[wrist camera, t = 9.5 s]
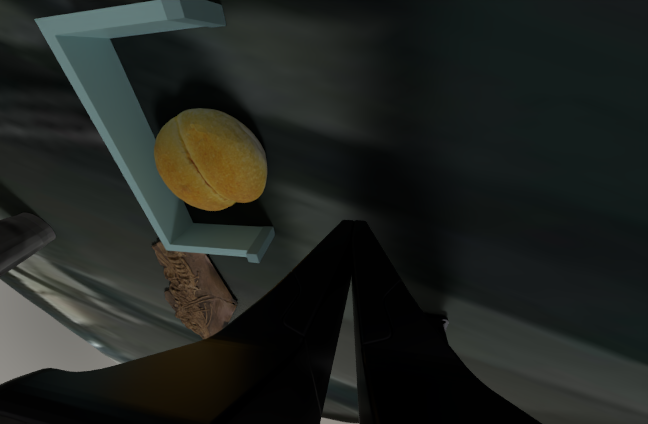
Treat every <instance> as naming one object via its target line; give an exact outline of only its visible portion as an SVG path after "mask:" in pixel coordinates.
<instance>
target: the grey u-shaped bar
mask: <svg viewBox="0 0 648 424" xmlns="http://www.w3.org/2000/svg"><path fill="white" fill-rule="evenodd" d="M34 20H35V21H36V23H37V25H38V27H39V28H40V30H41V32H42V34H43V35H44V37H45V39H46V41H47V42H48V44H49V46H50V48H51V49H52V51H53V53H54V55H55V56H56V58H57V60H58V62H59V63H60V65H61V67H62V69H63V70H64V72H65V74H66V76H67V77H68V79H69V81H70V83H71V84H72V86H73V88H74V90H75V91H76V93H77V95H78V97H79V98H80V100H81V102H82V104H83V105H84V107H85V109H86V111H87V112H88V114H89V116H90V118H91V119H92V121H93V123H94V125H95V126H96V128H97V130H98V132H99V133H100V135H101V137H102V139H103V140H104V142H105V144H106V146H107V147H108V149H109V151H110V153H111V154H112V156H113V158H114V160H115V161H116V163H117V165H118V167H119V168H120V170H121V172H122V174H123V175H124V177H125V179H126V181H127V182H128V184H129V186H130V188H131V189H132V191H133V193H134V195H135V196H136V198H137V200H138V202H139V203H140V205H141V207H142V209H143V210H144V212H145V214H146V216H147V217H148V219H149V221H150V223H151V224H152V226H153V228H154V230H155V231H156V233H157V235H158V237H159V238H160V240H161V242H162V244H163V245H164V247H165V249H166V250H168V251H180V252H192V253H205V254H217V255H229V256H242V257H247V259H248V261H249V262H254V263H259V262H260V261H261V259H262V257H263V255H264V253H265V252H266V250H267V248H268V246H269V245H270V243H271V241H272V239H273V237H274V236H275V232H274V228H273V227H270V226H264V227H256V226H237V225H219V224H200V223H193V221H192V219H191V217H190V215H189V212H188V210H187V208H186V206H185V204H184V201H183V200H182V199H180V198H178V197H177V196H176V195H175V194H174V193H173V192H172V191H171V190H170V189H169V188H168V187H167V185H166V184H165V183H164V181H163V179H162V178H161V176H160V174H159V172H158V170H157V167H156V163H155V158H154V145H155V141H156V140H155V137H154V135H153V133H152V131H151V129H150V126H149V124H148V122H147V120H146V118H145V115H144V113H143V111H142V109H141V107H140V104H139V102H138V100H137V98H136V96H135V93H134V91H133V89H132V87H131V85H130V82H129V80H128V78H127V76H126V73H125V71H124V69H123V67H122V65H121V62H120V60H119V58H118V56H117V54H116V51H115V49H114V47H113V45H112V43H111V40H110V38H117V37H125V36H133V35H141V34H149V33H157V32H165V31H173V30H181V29H189V28H197V27H205V26H206V27H212V28H213V27H221V26H226V21H225V17H224V13H223V8H222V5H220V4H216V3H213V2H210V1H207V0H154V1H148V2H141V3H135V4H129V5H122V6H116V7H109V8H103V9H97V10H90V11H84V12H77V13H71V14H64V15H58V16H52V17H45V18H39V19H34Z"/></svg>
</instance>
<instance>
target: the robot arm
mask: <svg viewBox="0 0 648 424" xmlns="http://www.w3.org/2000/svg"><path fill="white" fill-rule="evenodd" d="M351 275H352V298H353V316H354V335H355V353H356V372H357V390H358V409H359V424H542V423H540V422H539V421H537V420H536V419H534V418H533V417H531V416H530V415H528V414H527V413H525V412H524V411H522V410H521V409H519V408H518V407H516V406H515V405H513V404H512V403H510V402H509V401H507V400H506V399H504V398H503V397H501V396H500V395H499V394H497V393H496V392H494V391H493V390H491V389H490V388H488V387H487V386H486V385H485V384H484V383H482V382H481V381H480V380H479V379H478V378H477V377H476V376H475V375H474V374H473V373H472V372H471V371H470V370H469V369H468V368H467V367H466V366H465V364H464V363H463V362H462V361H461V360H460V358H459V357H458V356H457V355H456V353H455V352H454V351H453V349H452V348H451V347H450V346H449V344H448V341H447V336H446V332H445V331H446V329H447V326H448V323H449V322H448V318H447V317H445V316H438V315H429V314H424V313H423V311H422V310H421V309H420V307H419V306H418V305H417V303H416V302H415V300H414V299H413V297H412V296H411V294H410V293H409V291H408V290H407V288H406V286H405V285H404V283H403V282H402V280H401V278H400V277H399V275H398V273H397V272H396V270H395V268H394V267H393V265H392V263H391V262H390V260H389V259H388V257H387V255H386V254H385V252H384V250H383V249H382V247H381V245H380V244H379V242H378V240H377V239H376V237H375V236H374V234H373V232H372V231H371V229H370V227H369V226H368V224H367V222H366V221H359V220H356V221H353V220H343V221H341V222H340V223H339V224H338V225H337V226H336V227H335V228H334V229H333V230H332V231H331V232H330V233H329V234H328V235H327V236H326V237H325V238H324V239H323V240H322V241H321V242H320V243H319V244H318V245H317V246H316V247H315V248H314V249H313V250H312V251H311V252H310V253H309V254H308V255H307V256H306V257H305V258H304V259H303V260H302V261H301V262H300V263H299V264H298V265H297V266H296V267H295V268H294V269H293V270H292V272H290V273H289V274H288V275H287V276H286V277H285V278H284V279H282V280H281V281H280V282H279V283H278V284H277V285H276V286H275V287H274V288H273V289H272V290H270V291H269V292H268V293H267V294H266V295H264V296H263V297H262V298H261V299H260V300H258V301H257V302H256V303H255V304H253V305H252V306H251V307H250V308H248V309H247V310H246V311H245V312H243V313H242V314H241V315H239V316H238V317H237V318H236V319H234V320H233V321H232V322H231V323H229V324H228V325H227V326H226V327H224V328H223V329H222V330H220V331H219V332H217V333H215V334H214V335H212V336H210V337H208V338H206V339H204V340H201V341H199V342H196V343H192V344H189V345H185V346H182V347H178V348H175V349H171V350H168V351H164V352H161V353H157V354H154V355H150V356H147V357H143V358H140V359H136V360H133V361H129V362H126V363H122V364H119V365H115V366H111V367H107V368H103V369H98V370H92V371H84V372H69V371H64V370H59V369H53V368H46V369H41V370H38V371H35V372H32V373H29V374H26V375H23V376H20V377H17V378H15V379H12V380H10V381H7V382H5V383H3V384H1V385H0V424H320V421H321V415H322V411H323V407H324V402H325V397H326V393H327V388H328V383H329V379H330V374H331V370H332V365H333V360H334V356H335V351H336V347H337V342H338V337H339V333H340V328H341V324H342V319H343V314H344V310H345V305H346V300H347V296H348V291H349V287H350V282H351Z"/></svg>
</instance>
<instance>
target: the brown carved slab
mask: <svg viewBox="0 0 648 424" xmlns="http://www.w3.org/2000/svg"><path fill="white" fill-rule="evenodd" d="M152 248H153V249H154V250H155V253H156V255H157V258H158V261H159V263H160V264H161V265H162V266H164V274H165V278H166V279H168V280H170V281H171V284H170V288H169V290H167V291H165V297H166V300H167V301H168V302H169V304H170V305H171V306H172V308H173V309H174V310H175V311H176V315H175V316H176V317H177V318H180V319H181V321H182V323H183V324H185V326H186V327H187V328H188V329H192V330H193V331H194V332H195V333H196V334H199V335H200V336H201V337H202V338H203V339H206V338H208V337H210V336H212V335H214V334H215V333H217V332H219V331H220V330H222V329H223V328H224V327H226V326H227V325H228V322H229V320H230V319H231V316H232V314H233V312H234V310H235V308H236V306H237V305H235V304H238V302H236V300H234V299H233V297H232V296H231V294H230V293H229V291H228V289H227V288H226V286H225V285H224V283H223V281H222V280H221V278H220V277H219V275H218V273H217V272H216V270H215V268H214V267H213V265H212V264H211V262H210V261H209V259H208V258H207V256H206V254H205V253H192V252H180V251H168V250H166V249H165V247H164V245H163V244H162V242H161V240H160V241H159V242H158V243H157V244H156V245H153V246H152ZM232 302H233V303H235V304H232Z"/></svg>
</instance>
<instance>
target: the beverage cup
mask: <svg viewBox="0 0 648 424" xmlns="http://www.w3.org/2000/svg"><path fill="white" fill-rule="evenodd" d="M55 238H56V235H55V233H54V231H53V229H52V228H51V227H50V226H49V225H48V224H47V223H46V222H45V221H43V220H42V219H40V218H39V217H37V216H35V215H33V214H30V213H25V212H24V213H21V214H18V215H16V216H12V217H9V218H5V219H2V220H0V277H1V276H2V275H4V274H5V273H7V272H8V271H9V270H11V269H12V268H14V267H15V266H17V265H18V264H20V263H21V262H23V261H24V260H26V259H27V258H29V257H30V256H32V255H33V254H35V253H36V252H38V251H39V250H41V249H42V248H43V247H44V246H45V245H47V244H48V243H49V242H51V241H53V240H54V239H55Z"/></svg>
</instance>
